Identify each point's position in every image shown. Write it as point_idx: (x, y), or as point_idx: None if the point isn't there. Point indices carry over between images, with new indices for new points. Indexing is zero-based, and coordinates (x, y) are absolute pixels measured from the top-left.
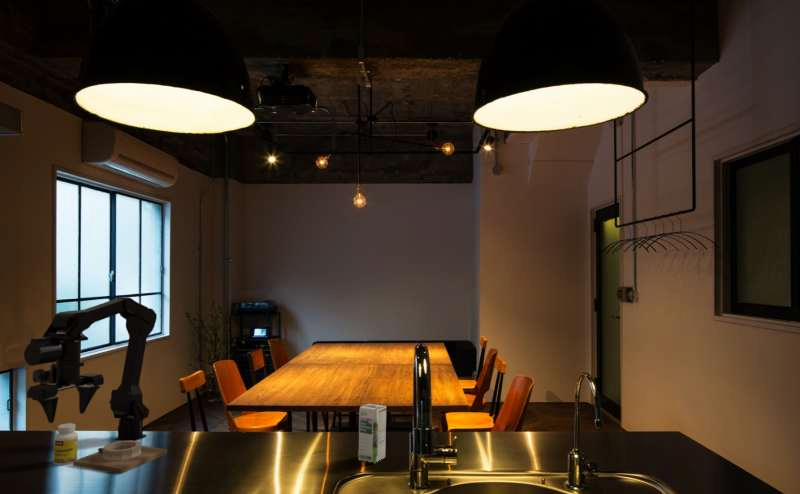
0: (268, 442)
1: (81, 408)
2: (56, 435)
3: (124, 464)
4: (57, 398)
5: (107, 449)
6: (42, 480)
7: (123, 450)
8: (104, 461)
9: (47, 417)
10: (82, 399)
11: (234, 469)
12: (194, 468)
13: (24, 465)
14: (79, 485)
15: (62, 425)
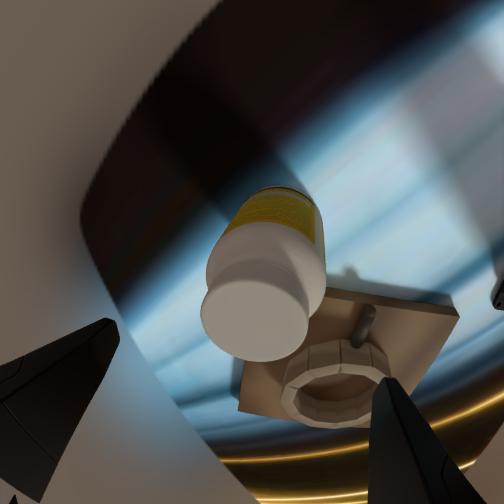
0: None
1: (380, 420)
2: (219, 257)
3: (266, 407)
4: (36, 494)
5: (294, 387)
6: (134, 270)
7: (294, 417)
8: (275, 366)
9: (74, 337)
10: (396, 489)
11: (303, 483)
12: (299, 463)
13: (208, 93)
14: (156, 361)
15: (240, 303)
